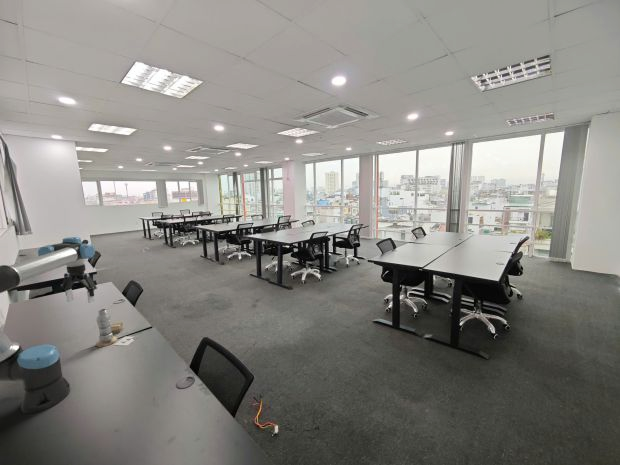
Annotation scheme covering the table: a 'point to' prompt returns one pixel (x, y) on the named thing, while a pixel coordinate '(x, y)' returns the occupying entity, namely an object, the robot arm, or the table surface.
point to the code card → (125, 341)
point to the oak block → (117, 327)
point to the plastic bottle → (104, 326)
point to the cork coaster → (100, 344)
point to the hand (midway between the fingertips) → (80, 301)
